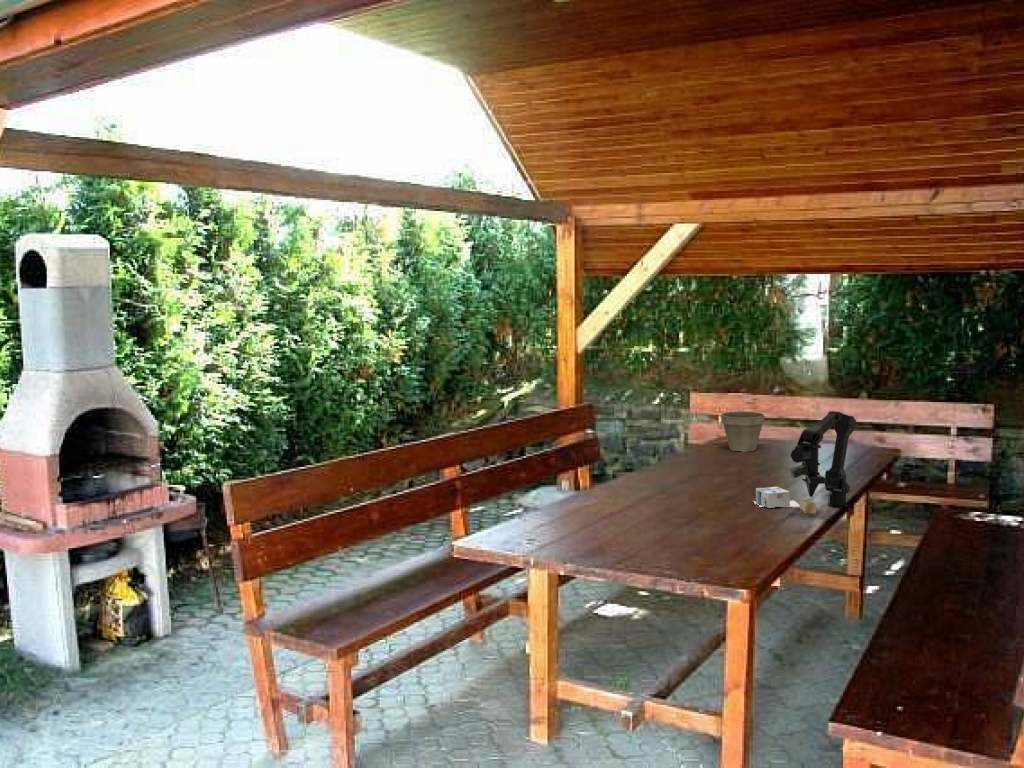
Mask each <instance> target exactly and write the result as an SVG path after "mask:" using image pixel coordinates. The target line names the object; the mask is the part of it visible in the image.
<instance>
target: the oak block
mask: <svg viewBox="0 0 1024 768" xmlns="http://www.w3.org/2000/svg"><path fill="white" fill-rule="evenodd" d="M799 505H800V507H799V509H800V510H801V509H802V510H803V511H802V510H801V511H802V512H803V513H805V512H806V513H807V514H817V507H816V506H817V504H816V503H814V501H811V499H799ZM806 513H805V514H806Z"/></svg>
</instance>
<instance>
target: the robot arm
mask: <svg viewBox="0 0 1024 768" xmlns="http://www.w3.org/2000/svg"><path fill="white" fill-rule="evenodd" d="M856 424H857V420H856V419H855V417H854V416H853V415H849V414H845V413H843V412H841V411H835V410H834V411H833V410H831V411H828V413H827V414H826V416H824V417H823V418H822V419H821V420H819V422H817V423H816V424H814V425H813V426H809V427H807V428H805V429H804V430H803V431H802V432H801V434H800V436H799V439H798V441H797V443H796V445H795V446H794V449H792V451H791V453H790V459H791V460H792V461H793V462H794V463H796V464H798V463H801V464H800V465H797V466H795V467H791V468H790V469H789V472H790V476H791V477H792V478H793V479H797V478H799V477H802V476H803V477H802V478H801V481H803V482H804V483H805V485H806V489H807V492H808V497H810V498H812V497H814V495H815V492H816V491H817V488H818V487H819V486H820V485H821V484H824V488H825V492H827V491H828V494H827V504H828V505H829V506H830V507H832V508H840V507H841V508H843V507H844V508H847V507H848V505H847V494H848V493H850V491H851V486H850V484H849V483H848V482H847V474H846V473H845V462H846V455H847V450H848V443H849V437H850V436H851V435H852V433H854V431H855V427H856ZM831 428H833V429H834V431H835V433H836V436H835V444H834V451H833V456H832V462H831V467H830V468H829V470H828V469H827V470H826V471H825V475H824V476H823V475H821V473H820V472H819V466H821V463H820V461H819V449H821V448H822V446H821V445H820V443H821V441H823V439H824V435H825V433H827V431H828V430H830V429H831Z"/></svg>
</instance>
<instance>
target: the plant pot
mask: <svg viewBox="0 0 1024 768" xmlns="http://www.w3.org/2000/svg"><path fill="white" fill-rule="evenodd" d="M720 417H721V418H720V420H721V421H720V422H721V424H722V425H723V428H724V432H725V436H726V440H727V443H728V447H729V450H730V451H731V450H732V451H731V452H734V451H741V452H740V453H748V452H747V451H753V452H755V451H756V449H757V447H758V442H759V438H760V434H761V432H762V427H763V424H765V414H764V413H762V412H756V411H729V412H723V413H721V414H720ZM754 450H755V451H754Z"/></svg>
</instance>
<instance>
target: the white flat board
mask: <svg viewBox="0 0 1024 768" xmlns="http://www.w3.org/2000/svg"><path fill="white" fill-rule="evenodd" d="M753 502H754V503H753ZM752 503H753V504H754V505H756V504H757V505H759V504H758V503H756V500H752ZM757 505H756V506H757ZM759 507H764V506H763V505H759ZM759 507H758V508H759ZM784 507H793V508H800V503H798V502H796V501H795V500H790V506H784Z"/></svg>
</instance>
